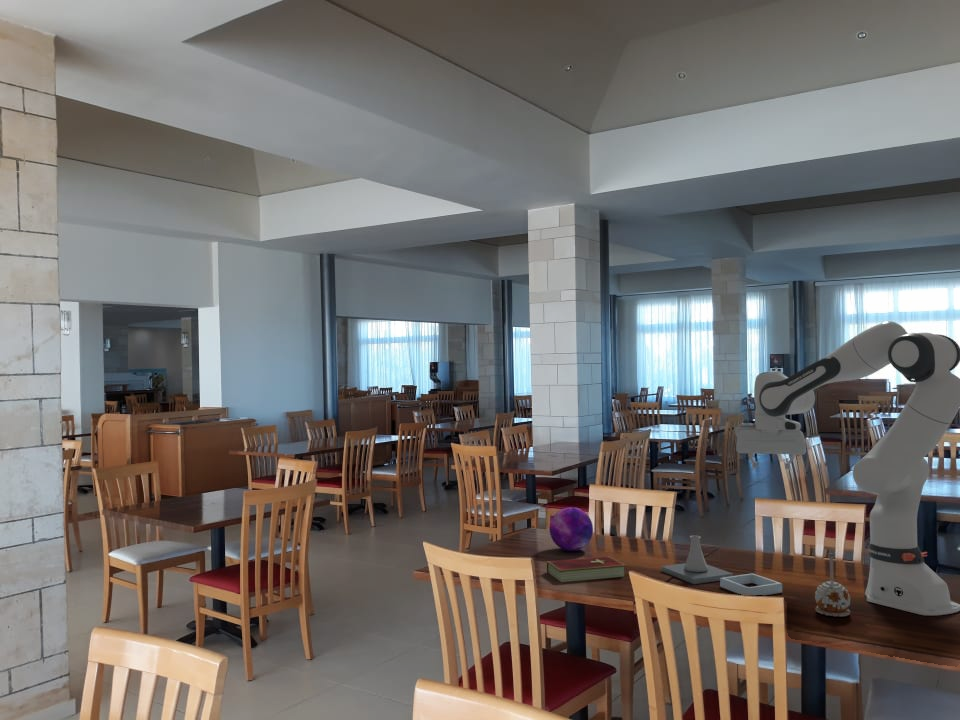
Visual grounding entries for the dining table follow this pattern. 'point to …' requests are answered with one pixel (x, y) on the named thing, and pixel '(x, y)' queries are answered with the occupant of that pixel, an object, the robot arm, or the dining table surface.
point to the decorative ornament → (832, 597)
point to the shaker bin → (765, 587)
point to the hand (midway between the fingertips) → (771, 468)
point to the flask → (695, 557)
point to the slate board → (695, 573)
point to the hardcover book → (585, 569)
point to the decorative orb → (571, 529)
